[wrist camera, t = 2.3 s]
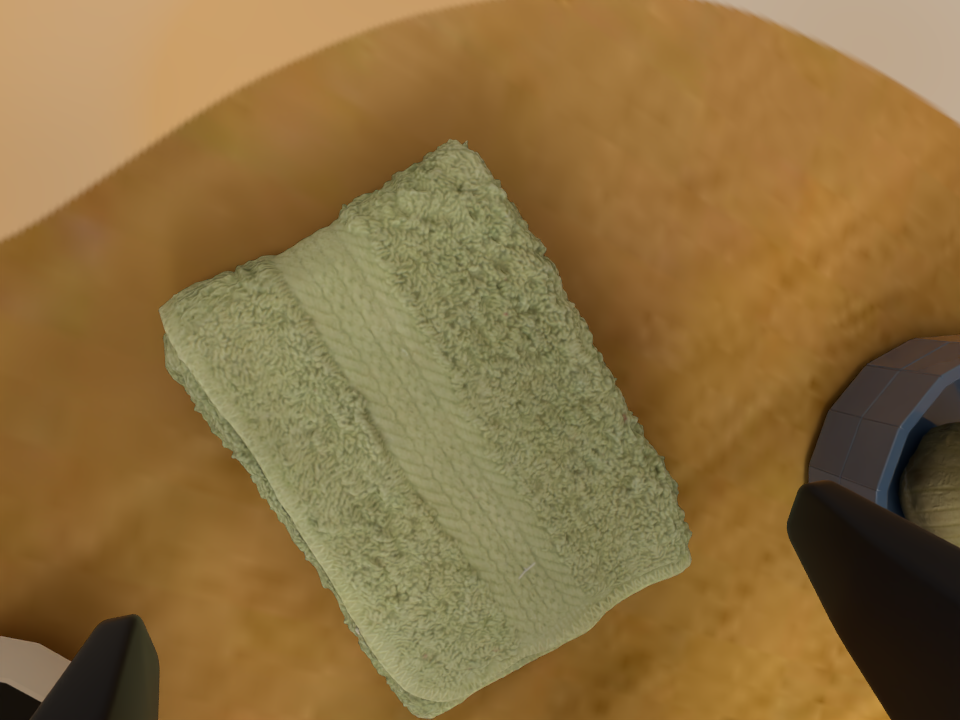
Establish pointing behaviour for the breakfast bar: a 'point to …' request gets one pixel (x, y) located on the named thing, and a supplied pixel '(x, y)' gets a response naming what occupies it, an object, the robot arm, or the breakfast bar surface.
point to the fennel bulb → (934, 483)
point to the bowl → (888, 418)
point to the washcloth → (433, 429)
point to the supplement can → (26, 676)
